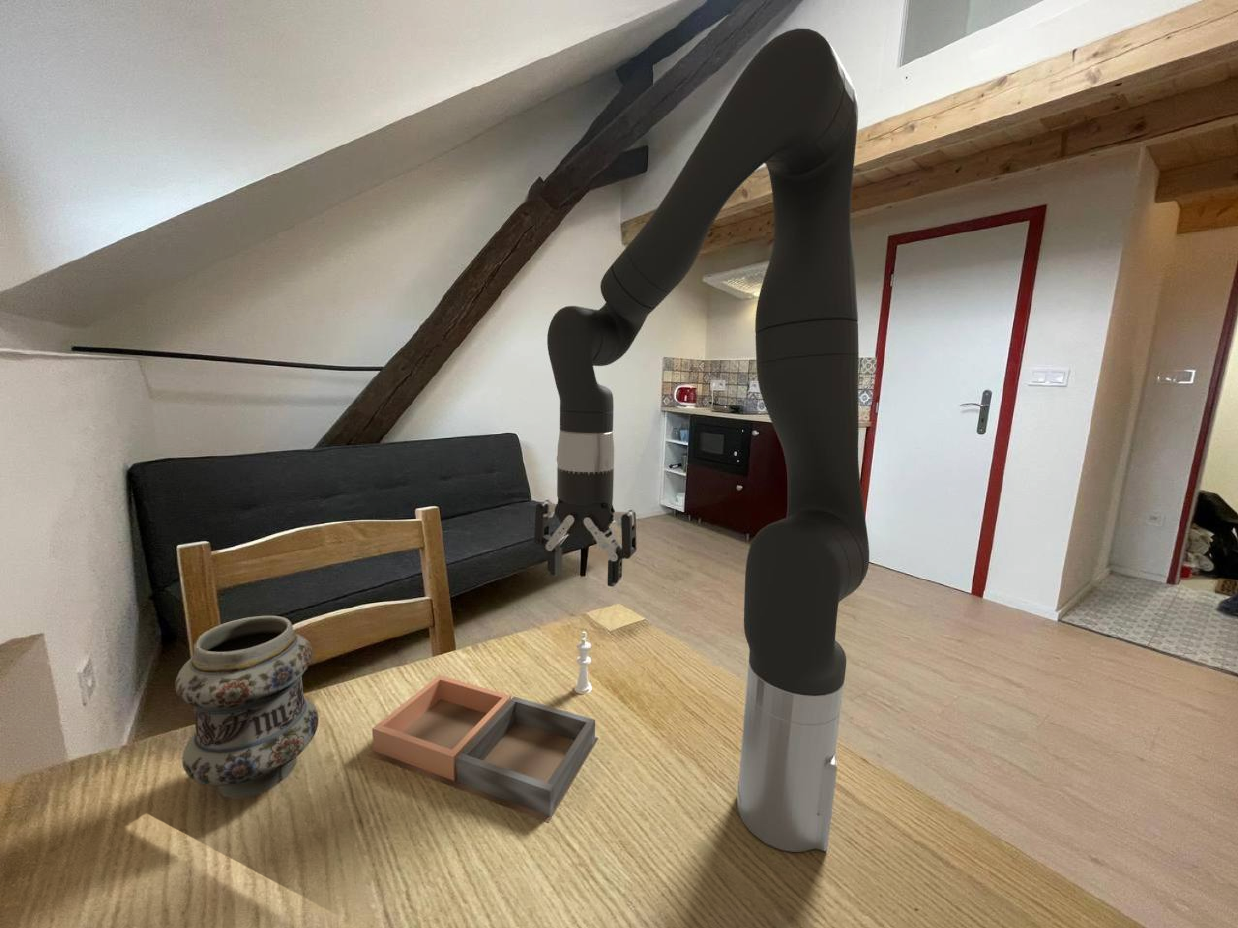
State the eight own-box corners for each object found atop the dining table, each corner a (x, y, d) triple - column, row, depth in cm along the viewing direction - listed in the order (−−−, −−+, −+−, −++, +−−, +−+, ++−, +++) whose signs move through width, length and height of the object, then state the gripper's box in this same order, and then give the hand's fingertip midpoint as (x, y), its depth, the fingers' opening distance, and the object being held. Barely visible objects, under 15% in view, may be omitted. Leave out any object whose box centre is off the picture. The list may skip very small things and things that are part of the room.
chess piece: (601, 686, 75) (603, 625, 73) (597, 708, 70) (598, 642, 69) (569, 684, 76) (570, 622, 74) (562, 704, 71) (563, 639, 69)
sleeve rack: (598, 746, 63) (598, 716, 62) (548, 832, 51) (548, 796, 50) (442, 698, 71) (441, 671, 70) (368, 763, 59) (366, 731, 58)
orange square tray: (511, 715, 66) (511, 695, 66) (453, 780, 56) (453, 756, 55) (440, 694, 70) (439, 674, 70) (373, 750, 60) (372, 728, 59)
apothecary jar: (330, 733, 64) (320, 601, 61) (309, 809, 53) (295, 653, 50) (215, 754, 60) (198, 614, 57) (166, 842, 49) (140, 674, 45)
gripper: (645, 464, 68) (640, 578, 71) (551, 456, 73) (550, 562, 75) (627, 474, 61) (623, 599, 64) (524, 464, 66) (524, 581, 68)
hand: (583, 579), depth 69 cm, fingers open, 8 cm apart
